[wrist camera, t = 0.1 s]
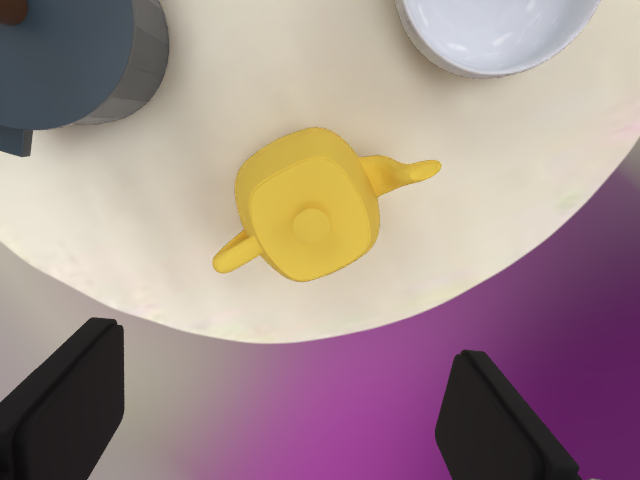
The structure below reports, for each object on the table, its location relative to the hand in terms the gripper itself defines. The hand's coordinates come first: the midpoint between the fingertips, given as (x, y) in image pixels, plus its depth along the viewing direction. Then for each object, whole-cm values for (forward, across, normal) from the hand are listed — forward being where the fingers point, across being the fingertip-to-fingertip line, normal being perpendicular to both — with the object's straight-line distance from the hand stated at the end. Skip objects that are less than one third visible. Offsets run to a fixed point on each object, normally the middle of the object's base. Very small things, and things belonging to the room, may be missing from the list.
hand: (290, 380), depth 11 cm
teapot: (+31, -2, 0) cm, 31 cm away
